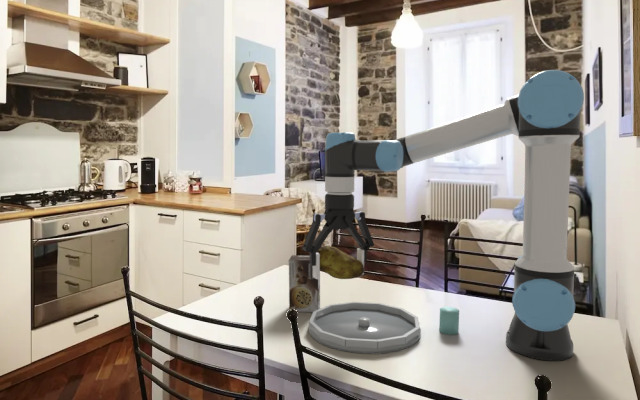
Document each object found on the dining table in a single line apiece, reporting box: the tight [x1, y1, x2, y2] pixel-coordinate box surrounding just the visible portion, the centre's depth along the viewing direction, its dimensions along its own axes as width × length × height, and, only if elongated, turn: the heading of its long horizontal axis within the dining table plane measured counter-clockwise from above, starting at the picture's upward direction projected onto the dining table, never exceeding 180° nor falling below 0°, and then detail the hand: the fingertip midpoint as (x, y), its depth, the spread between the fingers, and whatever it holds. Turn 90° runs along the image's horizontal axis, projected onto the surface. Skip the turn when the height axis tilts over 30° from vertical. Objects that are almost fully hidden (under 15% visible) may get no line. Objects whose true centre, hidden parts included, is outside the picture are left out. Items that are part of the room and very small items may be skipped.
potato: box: [317, 245, 365, 280], centre depth 122 cm, size 8×13×8 cm, turn 60°
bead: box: [438, 306, 460, 336], centre depth 127 cm, size 5×5×6 cm
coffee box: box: [288, 254, 321, 313], centre depth 143 cm, size 9×6×16 cm
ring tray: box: [308, 301, 422, 355], centre depth 127 cm, size 30×30×3 cm
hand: (338, 275), depth 123 cm, fingers closed on potato, 12 cm apart
